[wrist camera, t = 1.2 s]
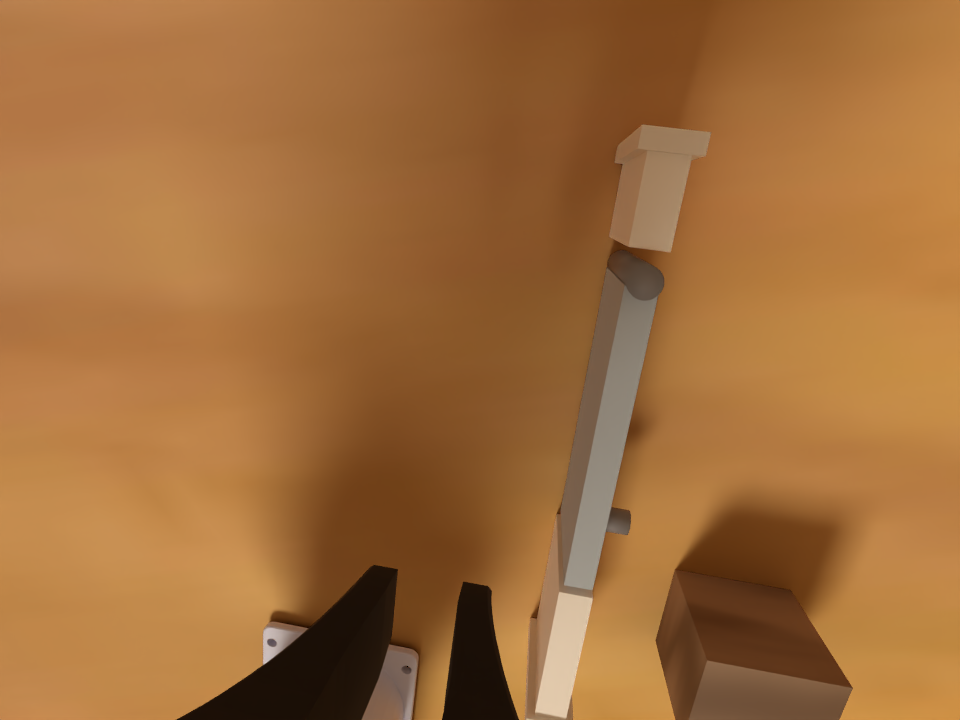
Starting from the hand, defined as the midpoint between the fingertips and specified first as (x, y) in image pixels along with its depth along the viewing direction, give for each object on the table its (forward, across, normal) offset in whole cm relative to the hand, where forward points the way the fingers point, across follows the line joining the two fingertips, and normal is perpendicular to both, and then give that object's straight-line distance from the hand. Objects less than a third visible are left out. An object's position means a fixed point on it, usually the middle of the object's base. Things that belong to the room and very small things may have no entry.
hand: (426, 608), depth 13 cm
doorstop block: (+10, -12, +7) cm, 17 cm away
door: (+10, -5, -3) cm, 12 cm away
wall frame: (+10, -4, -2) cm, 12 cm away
